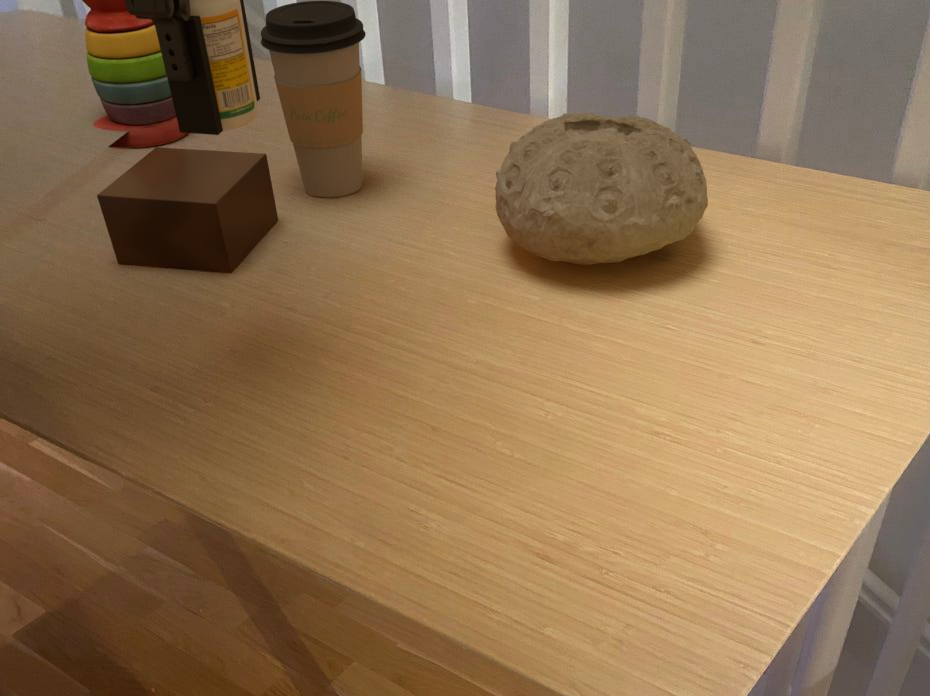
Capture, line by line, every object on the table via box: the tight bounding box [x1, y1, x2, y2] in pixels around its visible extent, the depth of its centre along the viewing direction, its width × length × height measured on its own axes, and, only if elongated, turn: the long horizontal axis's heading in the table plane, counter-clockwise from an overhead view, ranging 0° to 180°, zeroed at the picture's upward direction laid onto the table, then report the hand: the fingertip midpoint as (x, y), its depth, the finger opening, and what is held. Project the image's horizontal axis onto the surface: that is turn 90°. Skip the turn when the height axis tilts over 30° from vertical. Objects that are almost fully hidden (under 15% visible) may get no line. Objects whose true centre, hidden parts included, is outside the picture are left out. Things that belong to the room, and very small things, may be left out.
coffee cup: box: [260, 0, 366, 198], centre depth 93 cm, size 9×9×15 cm
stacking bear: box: [81, 0, 188, 149], centre depth 104 cm, size 11×10×18 cm
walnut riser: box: [96, 146, 279, 274], centre depth 88 cm, size 11×11×6 cm
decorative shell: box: [494, 112, 709, 266], centre depth 83 cm, size 18×18×10 cm
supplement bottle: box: [189, 0, 259, 132], centre depth 63 cm, size 5×5×10 cm
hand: (221, 114), depth 66 cm, fingers closed on supplement bottle, 5 cm apart
